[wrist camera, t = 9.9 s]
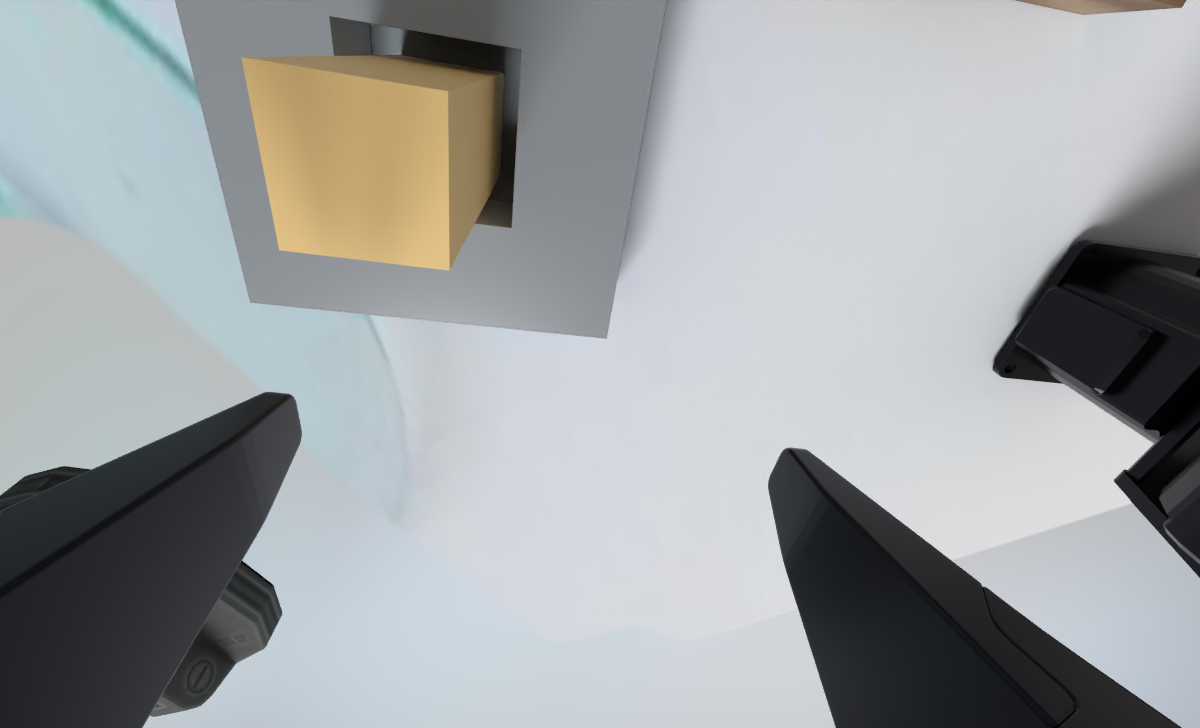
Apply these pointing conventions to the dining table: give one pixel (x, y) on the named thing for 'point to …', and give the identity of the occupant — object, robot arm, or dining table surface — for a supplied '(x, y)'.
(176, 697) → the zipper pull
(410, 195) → the ochre pin
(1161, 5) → the walnut mount
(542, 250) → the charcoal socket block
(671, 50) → the dining table surface
